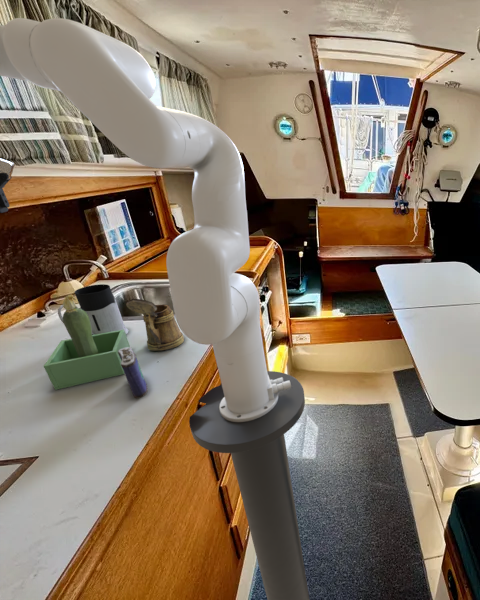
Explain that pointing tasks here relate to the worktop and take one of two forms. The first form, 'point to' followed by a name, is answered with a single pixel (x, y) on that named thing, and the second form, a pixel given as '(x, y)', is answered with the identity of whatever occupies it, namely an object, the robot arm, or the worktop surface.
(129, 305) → the wooden mug
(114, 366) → the veg bin
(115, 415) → the worktop surface
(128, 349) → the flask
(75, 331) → the vegetable
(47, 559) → the worktop surface
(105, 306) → the travel mug
